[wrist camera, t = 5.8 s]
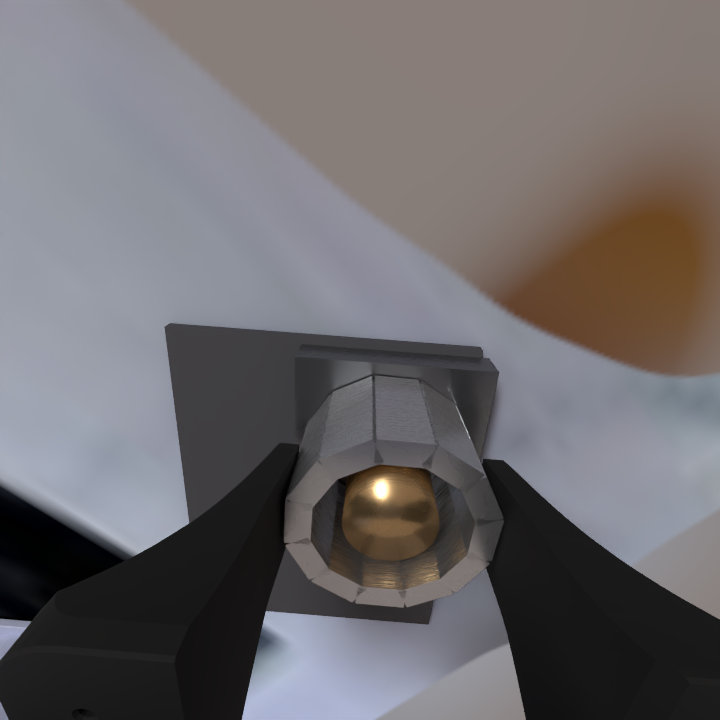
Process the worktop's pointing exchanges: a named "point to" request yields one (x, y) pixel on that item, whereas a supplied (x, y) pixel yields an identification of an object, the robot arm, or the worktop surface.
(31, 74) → the worktop surface
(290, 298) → the worktop surface
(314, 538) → the ring
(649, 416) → the worktop surface
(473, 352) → the mat
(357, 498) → the doorknob
